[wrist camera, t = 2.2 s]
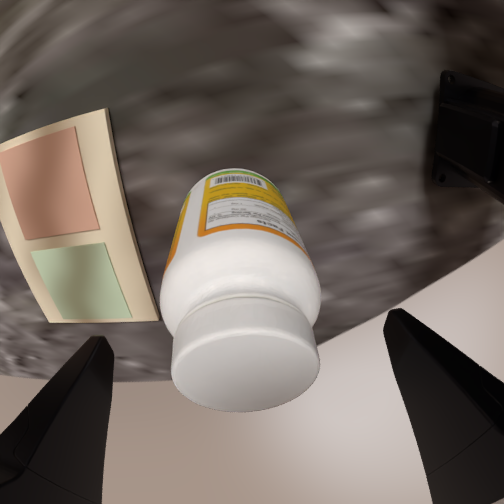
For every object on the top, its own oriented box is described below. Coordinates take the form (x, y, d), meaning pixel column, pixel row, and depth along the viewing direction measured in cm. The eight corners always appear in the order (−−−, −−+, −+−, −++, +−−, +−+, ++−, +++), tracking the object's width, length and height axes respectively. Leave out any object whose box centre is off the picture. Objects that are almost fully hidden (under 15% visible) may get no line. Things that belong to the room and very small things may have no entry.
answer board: (108, 107, 12) (103, 109, 11) (159, 315, 19) (158, 321, 18) (-15, 150, 12) (-21, 154, 11) (51, 317, 19) (48, 323, 18)
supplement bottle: (226, 275, 18) (232, 434, 9) (160, 209, 15) (104, 368, 7) (304, 223, 16) (373, 375, 8) (244, 144, 14) (276, 262, 5)
